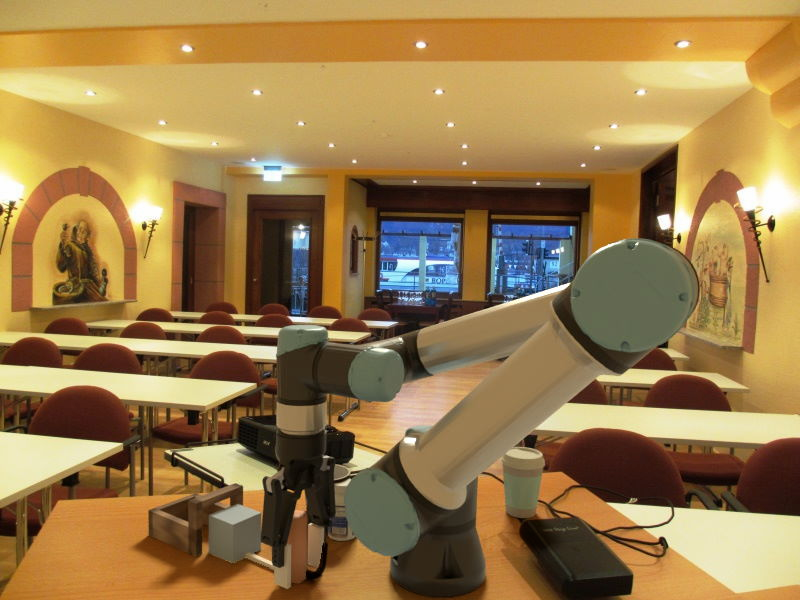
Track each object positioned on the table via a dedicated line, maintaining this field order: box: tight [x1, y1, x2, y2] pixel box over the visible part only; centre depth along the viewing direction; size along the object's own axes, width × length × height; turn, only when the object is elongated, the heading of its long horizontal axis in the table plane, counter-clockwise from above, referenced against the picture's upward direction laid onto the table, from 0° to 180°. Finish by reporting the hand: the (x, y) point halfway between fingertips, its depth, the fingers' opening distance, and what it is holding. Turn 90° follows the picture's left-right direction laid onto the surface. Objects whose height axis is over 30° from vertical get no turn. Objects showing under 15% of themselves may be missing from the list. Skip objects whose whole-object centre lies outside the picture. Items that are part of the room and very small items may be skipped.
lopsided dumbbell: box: [208, 504, 308, 585], centre depth 102 cm, size 19×6×10 cm, turn 55°
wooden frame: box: [147, 483, 244, 557], centre depth 111 cm, size 13×10×9 cm
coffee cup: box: [500, 446, 546, 519], centre depth 124 cm, size 8×8×12 cm
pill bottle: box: [327, 478, 356, 542], centre depth 113 cm, size 5×5×10 cm
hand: (299, 574), depth 97 cm, fingers open, 7 cm apart
